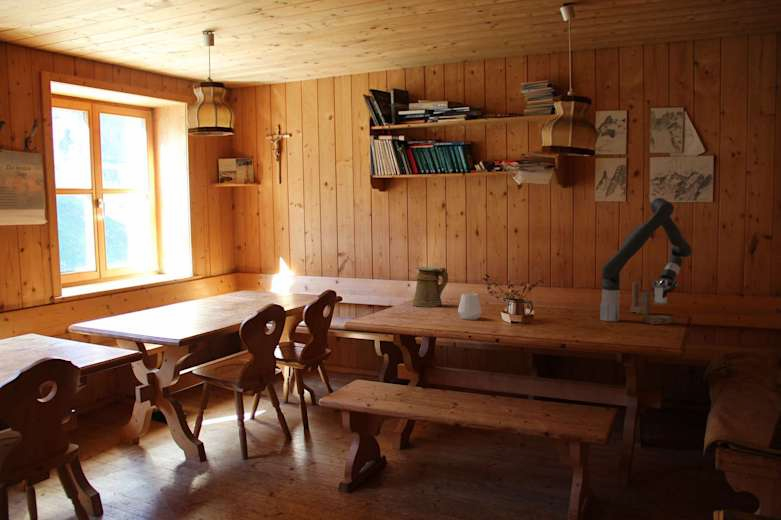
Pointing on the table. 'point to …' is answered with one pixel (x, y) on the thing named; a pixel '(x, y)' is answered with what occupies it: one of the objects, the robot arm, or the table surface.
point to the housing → (660, 295)
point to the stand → (658, 320)
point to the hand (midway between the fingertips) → (658, 296)
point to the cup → (469, 306)
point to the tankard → (429, 286)
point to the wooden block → (640, 300)
